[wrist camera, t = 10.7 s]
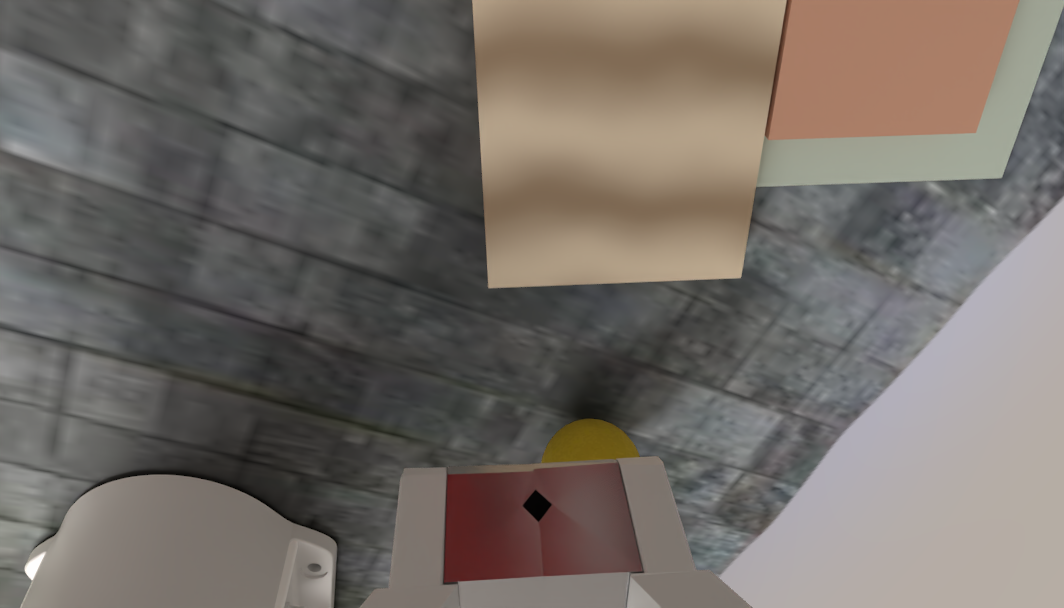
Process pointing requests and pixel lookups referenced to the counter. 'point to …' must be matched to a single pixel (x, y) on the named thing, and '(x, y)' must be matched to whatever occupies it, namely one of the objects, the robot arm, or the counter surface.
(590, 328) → the counter surface
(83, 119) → the counter surface
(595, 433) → the lemon
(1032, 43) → the mat
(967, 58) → the tile
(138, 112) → the counter surface
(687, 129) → the beige flat board
